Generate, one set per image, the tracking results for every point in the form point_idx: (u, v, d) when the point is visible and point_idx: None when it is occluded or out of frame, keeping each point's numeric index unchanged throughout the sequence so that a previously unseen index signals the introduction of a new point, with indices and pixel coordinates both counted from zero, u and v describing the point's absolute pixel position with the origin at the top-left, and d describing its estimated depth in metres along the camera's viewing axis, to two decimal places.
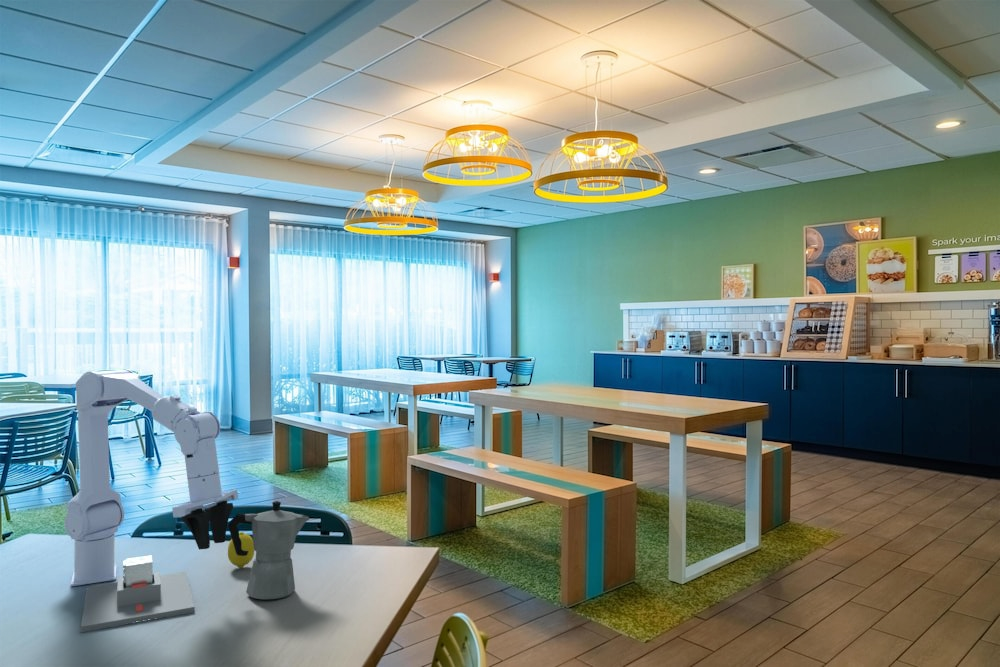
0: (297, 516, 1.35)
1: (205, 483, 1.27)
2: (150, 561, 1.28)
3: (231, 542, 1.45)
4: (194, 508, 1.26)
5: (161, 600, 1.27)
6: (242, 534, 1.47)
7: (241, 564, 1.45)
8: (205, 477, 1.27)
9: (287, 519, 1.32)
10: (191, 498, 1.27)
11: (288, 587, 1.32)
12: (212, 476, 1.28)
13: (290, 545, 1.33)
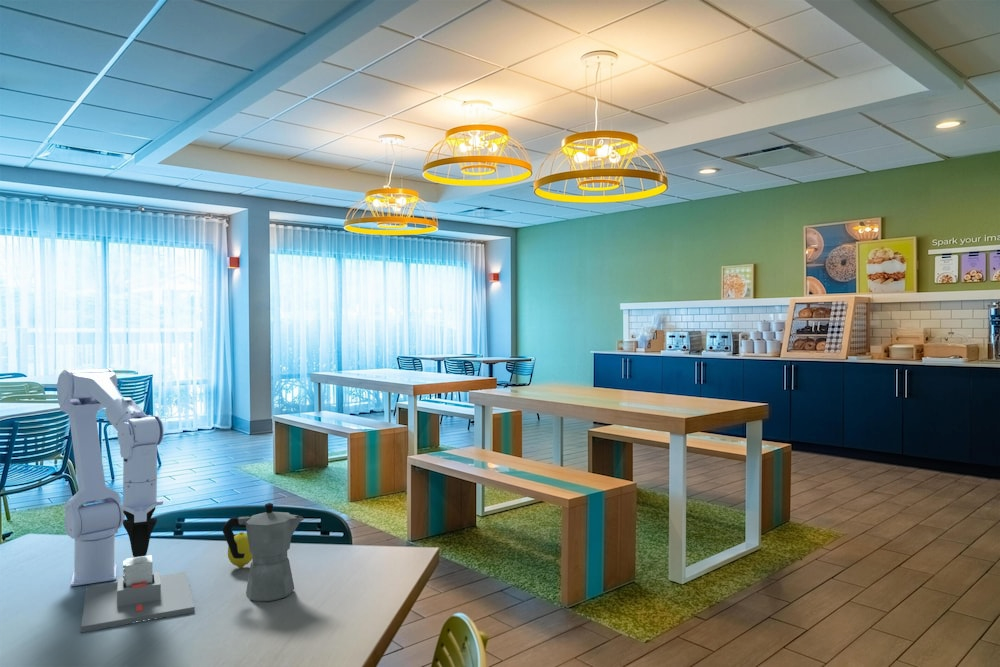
0: (290, 517, 1.33)
1: (153, 487, 1.28)
2: (150, 561, 1.28)
3: None
4: None
5: (161, 600, 1.27)
6: (242, 534, 1.47)
7: (241, 564, 1.45)
8: (153, 481, 1.28)
9: (279, 521, 1.31)
10: (134, 503, 1.26)
11: (285, 588, 1.32)
12: (156, 480, 1.29)
13: (285, 546, 1.32)
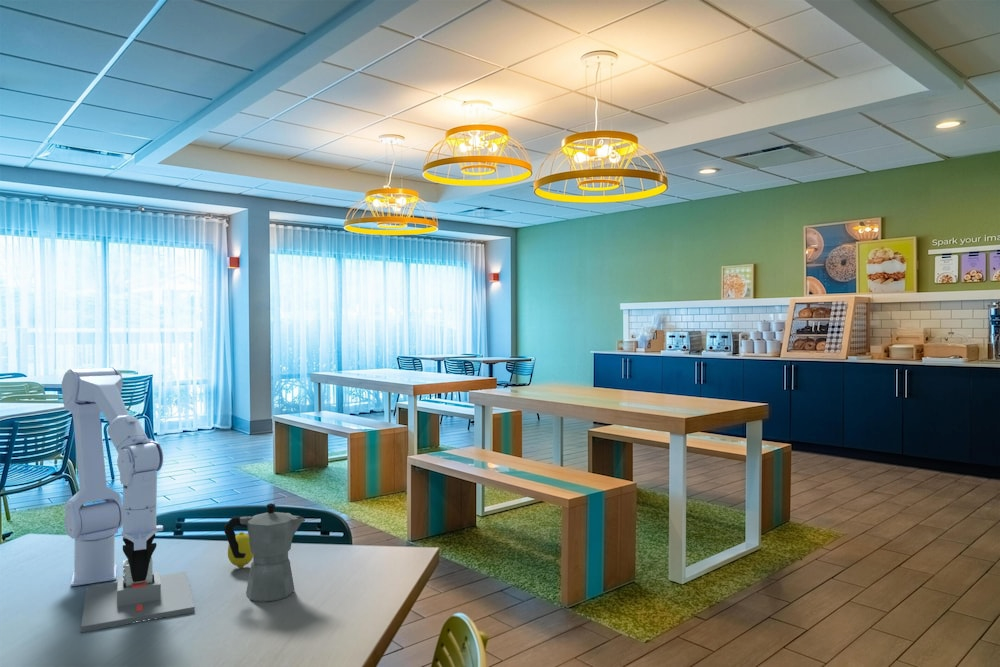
0: (292, 518, 1.33)
1: (152, 514, 1.28)
2: (150, 561, 1.28)
3: None
4: None
5: (161, 600, 1.27)
6: (242, 534, 1.47)
7: (241, 564, 1.45)
8: (153, 508, 1.28)
9: (280, 522, 1.31)
10: (134, 530, 1.26)
11: (286, 589, 1.32)
12: None
13: (286, 547, 1.32)
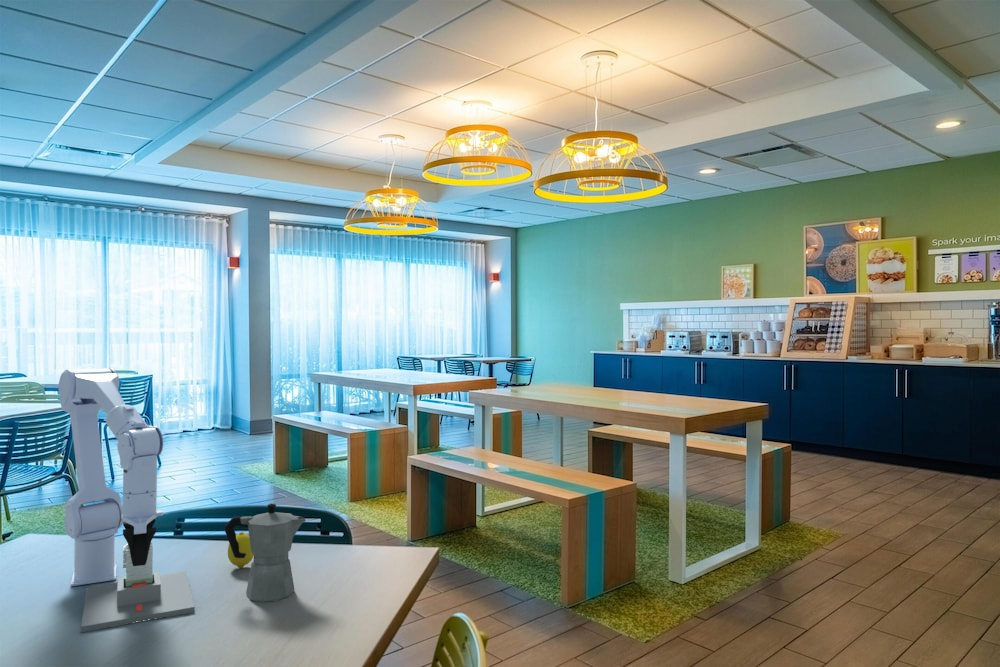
0: (292, 518, 1.33)
1: (153, 498, 1.28)
2: (150, 546, 1.28)
3: None
4: None
5: (161, 600, 1.27)
6: (242, 534, 1.47)
7: (241, 564, 1.45)
8: (153, 492, 1.28)
9: (281, 522, 1.31)
10: (134, 514, 1.26)
11: (286, 589, 1.32)
12: (156, 491, 1.29)
13: (286, 547, 1.32)
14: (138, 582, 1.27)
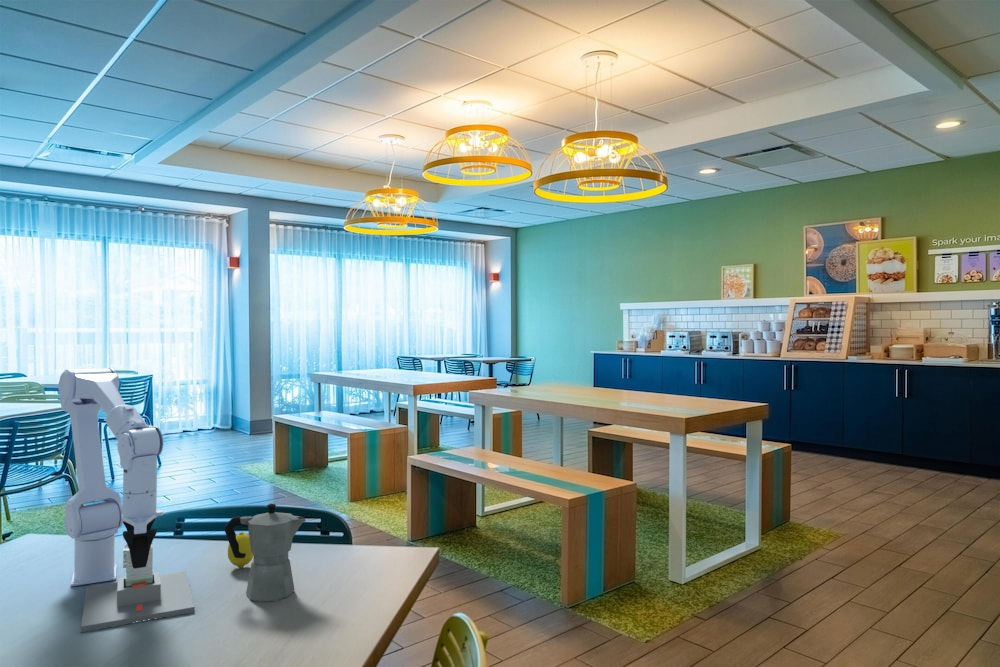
0: (292, 518, 1.33)
1: (153, 498, 1.28)
2: None
3: None
4: None
5: (161, 600, 1.27)
6: (242, 534, 1.47)
7: (241, 564, 1.45)
8: (153, 492, 1.28)
9: (281, 522, 1.31)
10: (134, 514, 1.26)
11: (286, 589, 1.32)
12: (156, 491, 1.29)
13: (286, 547, 1.32)
14: (138, 582, 1.27)
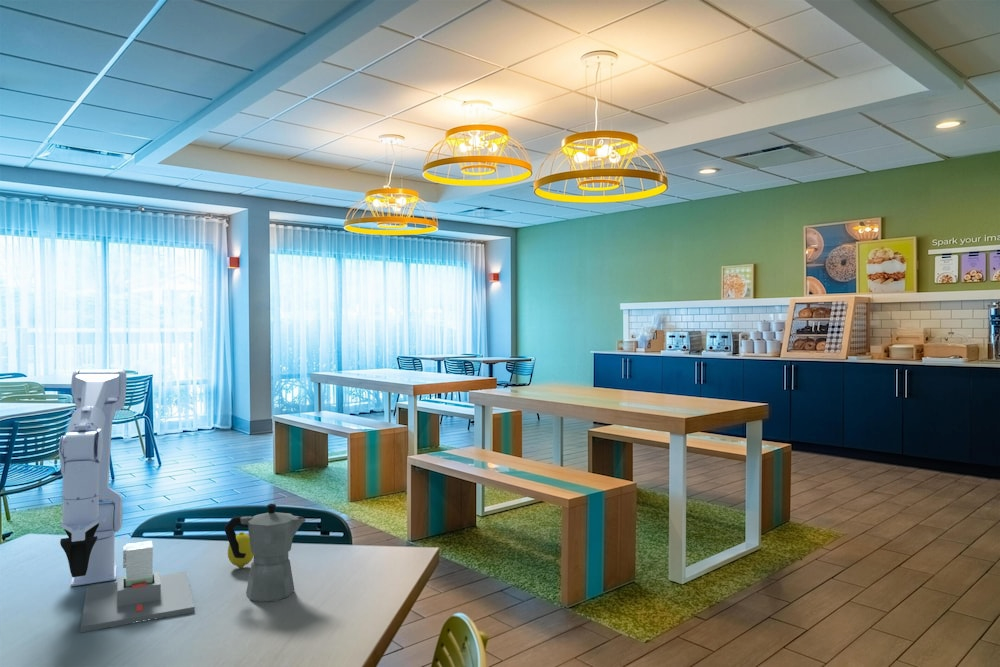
0: (292, 518, 1.33)
1: (94, 504, 1.23)
2: (150, 546, 1.28)
3: None
4: None
5: (161, 600, 1.27)
6: (242, 534, 1.47)
7: (241, 564, 1.45)
8: (94, 498, 1.23)
9: (281, 522, 1.31)
10: (74, 521, 1.21)
11: (286, 589, 1.32)
12: (98, 497, 1.25)
13: (286, 547, 1.32)
14: (138, 582, 1.27)
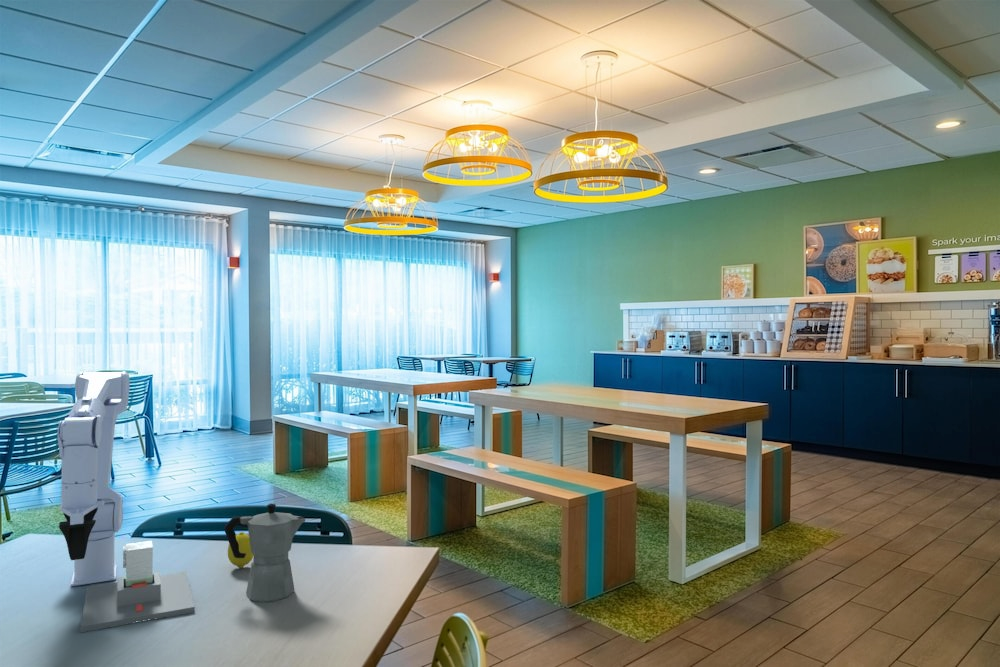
0: (292, 518, 1.33)
1: (92, 489, 1.25)
2: (150, 546, 1.28)
3: None
4: None
5: (161, 600, 1.27)
6: (242, 534, 1.47)
7: (241, 564, 1.45)
8: (93, 482, 1.25)
9: (280, 522, 1.31)
10: (72, 504, 1.23)
11: (286, 589, 1.32)
12: (96, 481, 1.26)
13: (286, 547, 1.32)
14: (138, 582, 1.27)
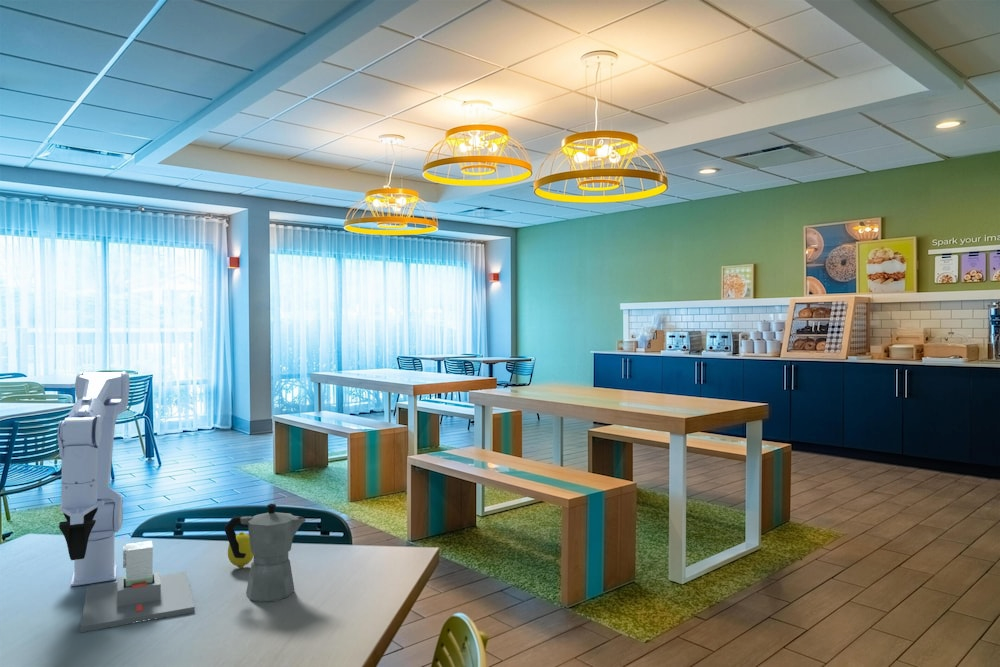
0: (292, 518, 1.33)
1: (92, 489, 1.25)
2: (150, 546, 1.28)
3: None
4: None
5: (161, 600, 1.27)
6: (242, 534, 1.47)
7: (241, 564, 1.45)
8: (93, 482, 1.25)
9: (281, 522, 1.31)
10: (72, 504, 1.23)
11: (286, 589, 1.32)
12: (96, 481, 1.26)
13: (286, 547, 1.32)
14: (138, 582, 1.27)
